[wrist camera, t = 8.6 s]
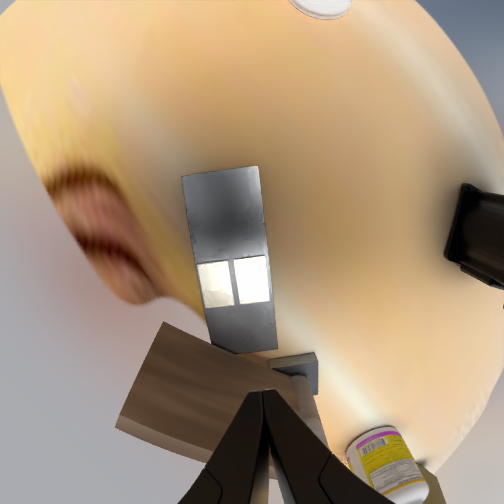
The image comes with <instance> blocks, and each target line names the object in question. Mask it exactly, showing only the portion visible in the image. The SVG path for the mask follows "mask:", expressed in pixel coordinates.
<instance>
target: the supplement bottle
mask: <svg viewBox="0 0 504 504" xmlns="http://www.w3.org/2000/svg"><path fill="white" fill-rule="evenodd" d="M346 458H347V461H348V464H349V467H350V470H351V472H353V473H354V474H355V475H356V476H358V477H359V478H360V479H361V480H363V481H364V482H365V483H367V484H368V485H369V486H371V487H372V488H374V489H375V490H376V491H378V492H379V493H381V494H382V495H384V496H385V497H387V498H388V499H390V500H391V501H393V502H394V503H396V504H423V501H424V500H425V499H426V497H427V496H428V493H429V487H428V484H427V482H426V480H425V479H424V477H423V475H422V473H421V471H420V469H419V467H418V466H417V464H416V462H415V460H414V458H413V456H412V455H411V453H410V451H409V449H408V447H407V445H406V444H405V442H404V440H403V438H402V436H401V435H400V433H399V431H398V430H396V429H395V428H392V427H383V428H378V429H374V430H372V431H369V432H367V433H365V434H363V435H362V436H360V437H359V438H358V439H356V440H355V441H354V442H353V443H352V444H351V445H350V447H349V448H348V450H347V453H346Z"/></svg>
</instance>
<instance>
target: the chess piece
mask: <svg viewBox="0 0 504 504" xmlns="http://www.w3.org/2000/svg"><path fill="white" fill-rule="evenodd" d="M289 1H290V2H291V4H292V5H293V6H294V7H295V8H297V9H298V10H299V11H301V12H303V13H305V14H307V15H309V16H312V17H315V18H319V19H336V18H339V17H342V16H343V15H345V14H346V13H347V12H348V10H349V8H350V5H351V0H289Z"/></svg>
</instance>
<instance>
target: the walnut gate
mask: <svg viewBox="0 0 504 504" xmlns="http://www.w3.org/2000/svg"><path fill="white" fill-rule="evenodd" d="M271 388H275V389H277V390H278V392H279V393H280V394H281V395H282V396H283V397H284V399H285V400H286V401H287V402H288V403H289V405H290V406H291V407H292V408H293V409H294V410H295V412H296V413H297V414H298V415H299V416H300V417H301V418H302V420H303V421H304V422H305V423H306V424H307V425H308V426H309V427H310V429H311V430H312V431H313V432H314V433H315V434H316V435H317V436H318V437H319V439H320V440H321V441H322V442H323V443H324V444H325V445H326V446H327V447H328V443H327V440H326V436H325V433H324V430H323V427H322V423H321V420H320V417H319V413H318V410H317V407H316V404H315V400H314V397H313V394H312V391H311V387H310V384H309V381H308V379H307V378H306V377H304V376H301V375H296V376H292V377H291V376H289V375H286V374H283V373H280V372H278V371H275V370H272V369H270V368H267V367H265V366H262V365H260V364H257V363H255V362H252V361H250V360H247V359H245V358H242V357H240V356H237V355H235V354H233V353H230V352H228V351H226V350H223V349H221V348H219V347H217V346H214V345H212V344H210V343H208V342H205V341H203V340H201V339H199V338H197V337H194V336H192V335H190V334H188V333H186V332H184V331H182V330H180V329H178V328H176V327H174V326H172V325H170V324H168V323H166V322H163V323H162V325H161V327H160V329H159V331H158V333H157V335H156V337H155V339H154V341H153V343H152V345H151V348H150V349H149V352H148V354H147V356H146V358H145V360H144V362H143V364H142V366H141V368H140V370H139V373H138V375H137V377H136V379H135V381H134V383H133V386H132V388H131V390H130V392H129V394H128V397H127V399H126V401H125V403H124V406H123V408H122V410H121V412H120V415H119V418H118V420H117V423H116V426H115V428H117V429H119V430H121V431H124V432H126V433H128V434H130V435H132V436H134V437H137V438H139V439H141V440H143V441H146V442H149V443H151V444H153V445H156V446H158V447H161V448H163V449H166V450H169V451H171V452H174V453H177V454H180V455H182V456H185V457H188V458H191V459H195V460H197V461H201V462H204V463H207V462H208V460H209V459H210V457H211V455H212V454H213V452H214V450H215V449H216V447H217V445H218V444H219V442H220V440H221V439H222V437H223V435H224V434H225V432H226V430H227V428H228V427H229V425H230V423H231V421H232V420H233V418H234V416H235V414H236V413H237V411H238V409H239V407H240V406H241V404H242V402H243V400H244V398H245V397H246V395H247V393H248V392H249V391H255V390H261V391H263V390H264V389H271ZM328 448H329V447H328ZM269 451H270V448H269ZM269 478H271V479H276V480H278V479H277V476H276V472H275V469H274V465H273V462H272V458H271V454H270V466H269Z"/></svg>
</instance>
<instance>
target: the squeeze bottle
mask: <svg viewBox="0 0 504 504" xmlns="http://www.w3.org/2000/svg"><path fill="white" fill-rule="evenodd" d="M417 466H418V467H419V469H420V471H421V473H422V475H423V477H424V479H425V480H426V482H427V484H428V487H429V493H428V496H427V497H426V499H425V500H424V501H423V504H446V502H445V499H444V496H443V493H442V490H441V488H440V485H439V482H438V480H437V477H436V476H434V475H433V474H432V473H430V472H429V471H428V470H427V469H425V468H424V467H423V466H421V465H417Z"/></svg>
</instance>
